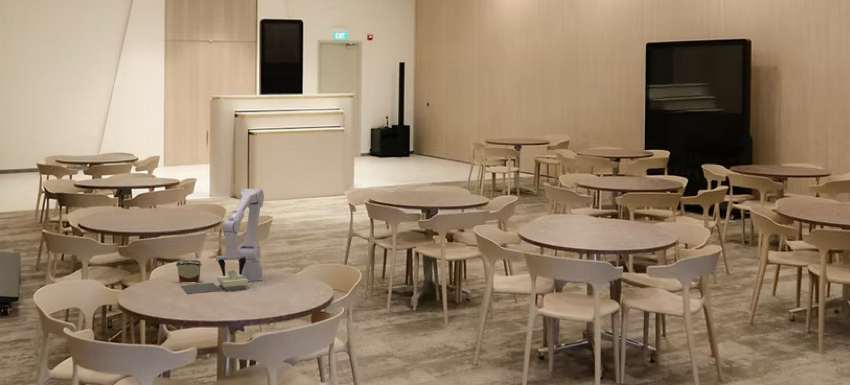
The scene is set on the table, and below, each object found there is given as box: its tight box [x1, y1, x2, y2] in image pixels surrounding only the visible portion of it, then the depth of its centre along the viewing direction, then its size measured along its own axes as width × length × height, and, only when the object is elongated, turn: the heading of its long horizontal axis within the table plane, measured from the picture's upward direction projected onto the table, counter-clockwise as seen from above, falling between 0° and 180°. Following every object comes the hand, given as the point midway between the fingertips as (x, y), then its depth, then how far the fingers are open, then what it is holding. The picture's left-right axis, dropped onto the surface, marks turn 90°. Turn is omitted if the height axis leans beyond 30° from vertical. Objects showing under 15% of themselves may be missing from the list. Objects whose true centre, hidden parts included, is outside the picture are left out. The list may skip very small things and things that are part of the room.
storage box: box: [220, 283, 246, 292], centre depth 432 cm, size 9×13×4 cm
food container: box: [175, 259, 203, 284], centre depth 446 cm, size 12×6×10 cm, turn 84°
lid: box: [216, 269, 249, 287], centre depth 432 cm, size 11×15×5 cm
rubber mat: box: [180, 282, 222, 295], centre depth 430 cm, size 15×18×1 cm
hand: (232, 275), depth 432 cm, fingers open, 7 cm apart
